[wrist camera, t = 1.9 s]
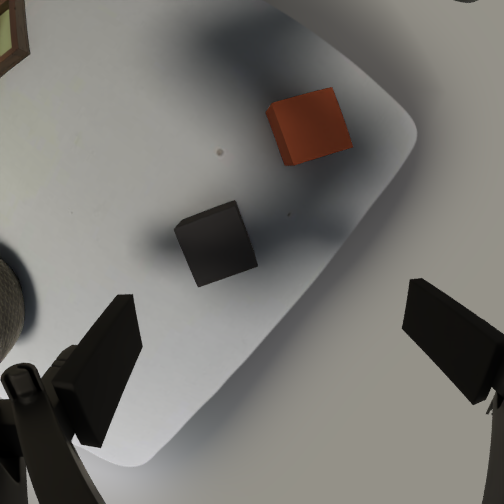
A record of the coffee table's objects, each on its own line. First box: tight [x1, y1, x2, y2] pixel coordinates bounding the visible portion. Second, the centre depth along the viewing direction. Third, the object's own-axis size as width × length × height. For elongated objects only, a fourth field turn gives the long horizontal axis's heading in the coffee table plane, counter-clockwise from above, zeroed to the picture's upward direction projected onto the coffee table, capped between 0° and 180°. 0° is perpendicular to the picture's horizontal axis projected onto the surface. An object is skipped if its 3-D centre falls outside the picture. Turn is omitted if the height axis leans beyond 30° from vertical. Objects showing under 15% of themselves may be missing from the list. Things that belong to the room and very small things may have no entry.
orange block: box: [266, 87, 353, 166], centre depth 26 cm, size 6×6×4 cm
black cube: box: [174, 200, 258, 287], centre depth 28 cm, size 6×6×4 cm
